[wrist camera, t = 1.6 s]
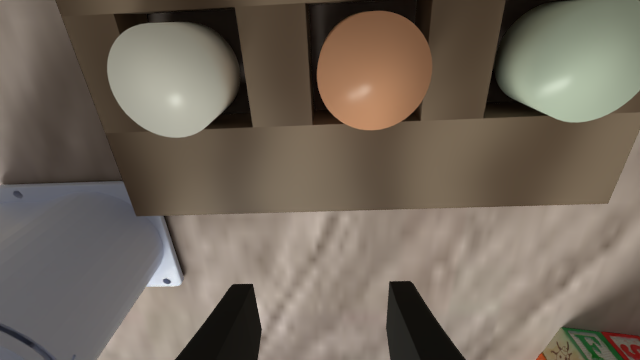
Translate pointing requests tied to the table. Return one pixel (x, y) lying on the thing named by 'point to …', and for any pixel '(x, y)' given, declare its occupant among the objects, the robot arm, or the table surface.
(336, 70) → the terracotta button
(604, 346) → the stack of blocks
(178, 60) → the cream button
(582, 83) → the sage button
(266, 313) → the table surface
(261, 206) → the panel
